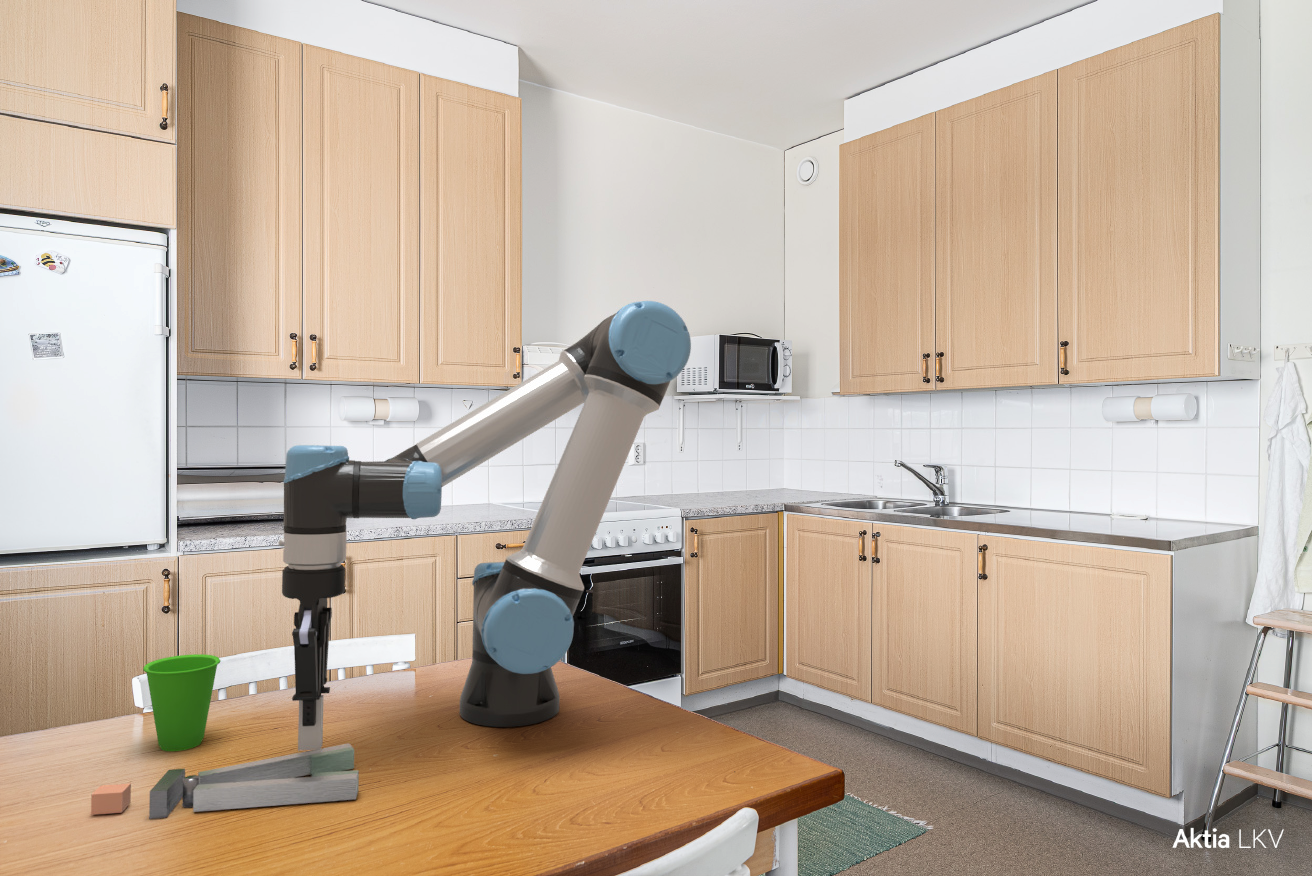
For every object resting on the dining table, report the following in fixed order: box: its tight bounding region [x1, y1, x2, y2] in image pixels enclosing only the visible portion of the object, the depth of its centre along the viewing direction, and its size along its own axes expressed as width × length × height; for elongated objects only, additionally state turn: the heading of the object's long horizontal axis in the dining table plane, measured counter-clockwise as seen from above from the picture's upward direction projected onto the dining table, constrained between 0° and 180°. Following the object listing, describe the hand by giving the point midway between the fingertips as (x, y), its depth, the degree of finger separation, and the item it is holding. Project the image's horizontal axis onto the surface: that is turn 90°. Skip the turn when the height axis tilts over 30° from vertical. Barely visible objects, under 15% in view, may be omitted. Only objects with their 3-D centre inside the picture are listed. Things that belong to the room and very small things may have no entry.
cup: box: [143, 653, 221, 752], centre depth 111 cm, size 9×9×11 cm
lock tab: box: [90, 783, 132, 816], centre depth 92 cm, size 3×2×2 cm
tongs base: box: [148, 768, 360, 820], centre depth 95 cm, size 21×6×3 cm, turn 103°
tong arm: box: [197, 743, 355, 785], centre depth 100 cm, size 17×2×2 cm, turn 125°
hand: (310, 747), depth 106 cm, fingers closed
